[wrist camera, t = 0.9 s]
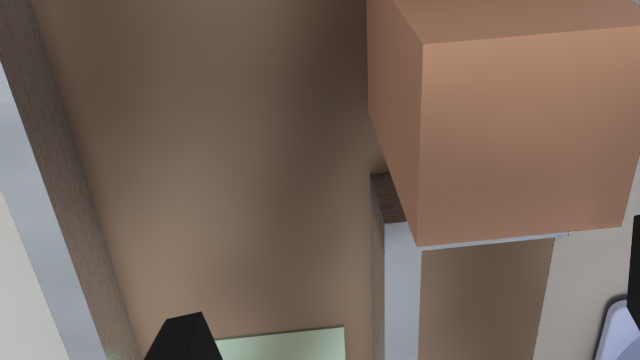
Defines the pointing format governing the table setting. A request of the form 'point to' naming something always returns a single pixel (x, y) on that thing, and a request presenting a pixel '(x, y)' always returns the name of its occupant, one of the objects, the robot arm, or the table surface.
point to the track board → (260, 181)
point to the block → (506, 113)
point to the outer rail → (55, 198)
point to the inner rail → (400, 272)
